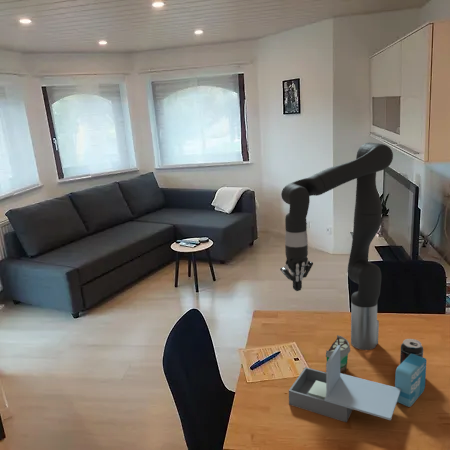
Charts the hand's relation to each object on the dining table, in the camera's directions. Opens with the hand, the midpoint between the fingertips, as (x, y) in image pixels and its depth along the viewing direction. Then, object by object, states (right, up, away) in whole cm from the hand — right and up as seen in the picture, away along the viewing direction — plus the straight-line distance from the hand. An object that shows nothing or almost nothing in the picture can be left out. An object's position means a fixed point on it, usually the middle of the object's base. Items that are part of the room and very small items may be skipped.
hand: (297, 290), depth 155 cm
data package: (+32, -31, -17) cm, 48 cm away
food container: (+15, -28, -2) cm, 31 cm away
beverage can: (+37, -28, -7) cm, 46 cm away
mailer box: (+6, -32, -16) cm, 36 cm away
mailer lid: (+16, -28, -24) cm, 40 cm away
